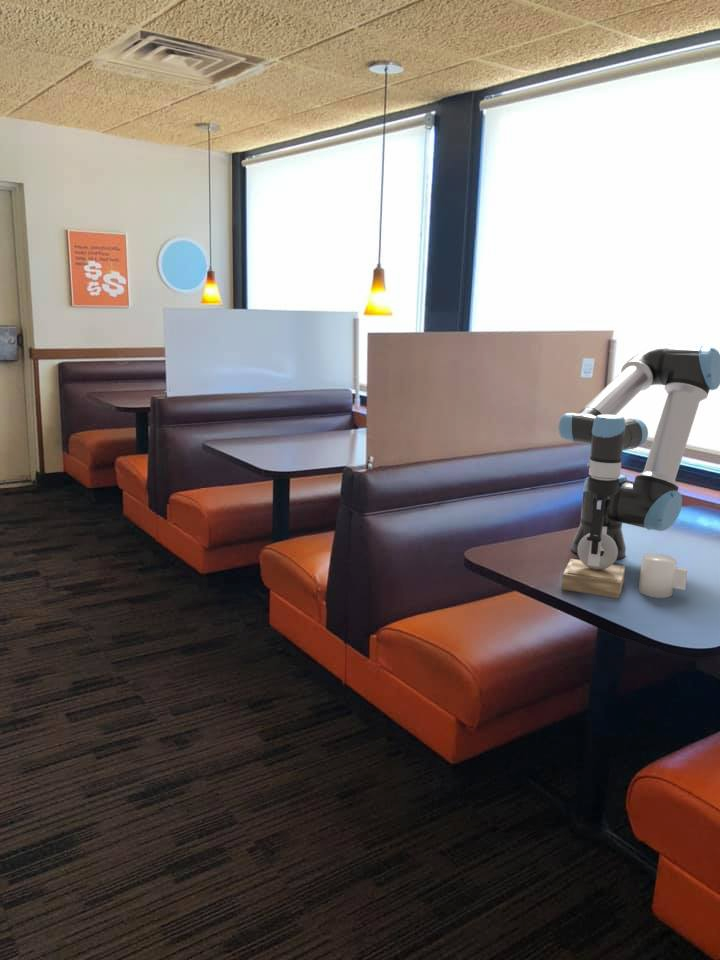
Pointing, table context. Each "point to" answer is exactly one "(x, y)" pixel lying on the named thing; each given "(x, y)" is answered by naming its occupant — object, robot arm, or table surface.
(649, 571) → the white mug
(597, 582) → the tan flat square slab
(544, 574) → the table surface
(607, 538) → the donut
